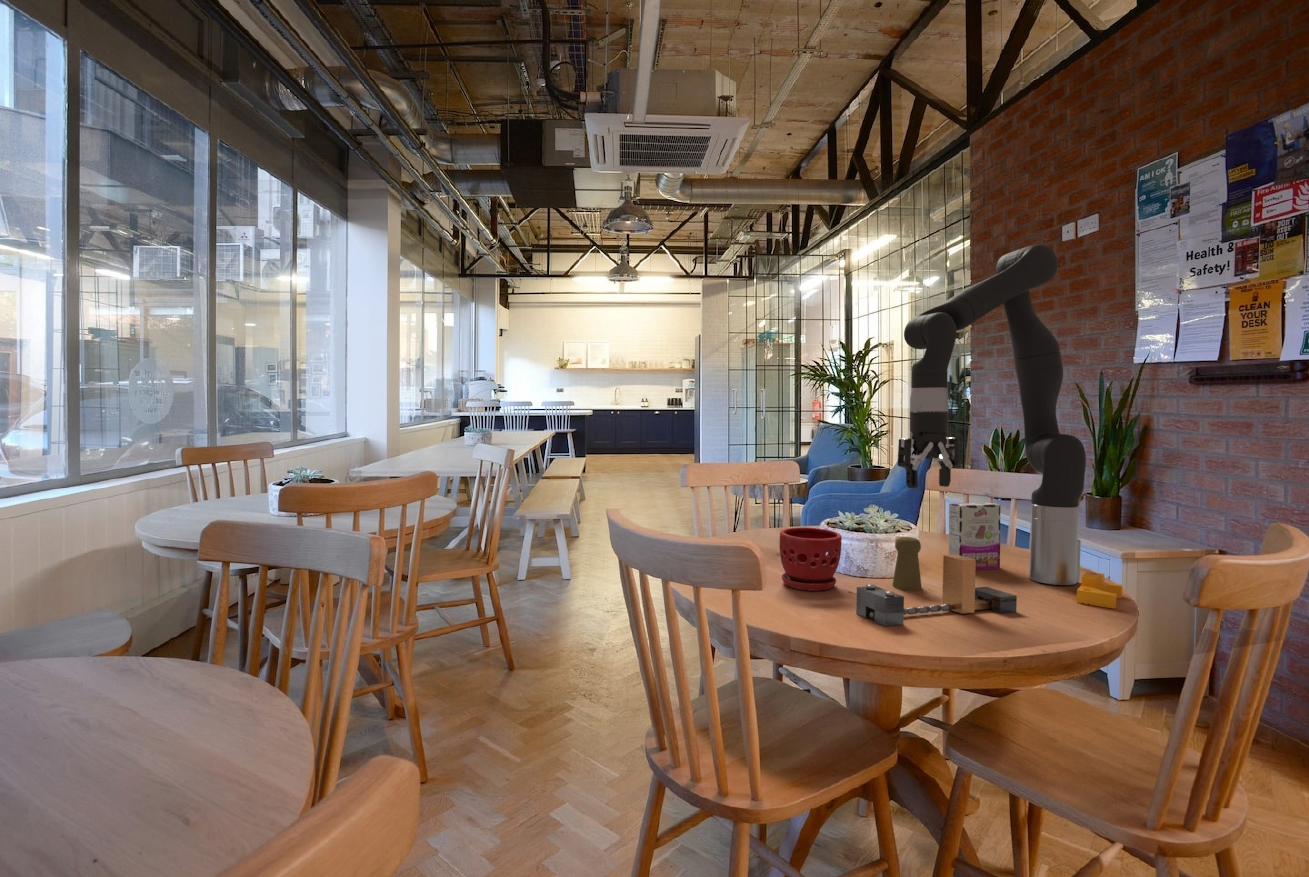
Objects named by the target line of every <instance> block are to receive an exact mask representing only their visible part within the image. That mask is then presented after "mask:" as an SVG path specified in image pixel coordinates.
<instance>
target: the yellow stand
mask: <svg viewBox="0 0 1309 877" xmlns="http://www.w3.org/2000/svg"><path fill="white" fill-rule="evenodd" d="M1122 597H1123V584H1119V583H1113V582H1105V573H1101V572H1092V571H1086V572H1085V573H1084V574H1082V576H1081V584H1080V586H1079V587H1078V588H1077V590H1076V603H1077V602H1079V603H1078V604H1082V603H1084V605H1088V604H1090V606H1094V605H1095V606H1096V607H1101V608H1107V609H1116V608H1117V599H1122ZM1095 606H1094V607H1095Z"/></svg>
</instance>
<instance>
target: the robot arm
mask: <svg viewBox="0 0 1309 877" xmlns="http://www.w3.org/2000/svg"><path fill="white" fill-rule="evenodd" d="M1058 261H1059V260H1058V257H1057V255H1056V253H1055V252H1054V250H1053V249H1052V248H1051V247H1049V246H1047V245H1046V244H1032V245H1028V246H1025V247H1023V248H1020V249H1016V250H1014V251H1011V252H1009V253H1006V254H1003V255H1002V256H1000V258H999V259H998V261H997V263H996V268H995V275H992V276H990V277H988V278H986V279H984V280H981V281H979V282H977V283H975V284H972V285H971V286H969V287H966V289H964V290H961V291H960V292H958V293H957V294H955V295H953V296H951V297H950V298H948V299H947V300H946V301H944V302H943V303H940V304H939V305H937V306H934V307H932V308H930V309H927V310H926V311H924V312H921V313H919V314H917V315H916V316H913V318H912V319H910V320H908V322H907V324H906V325H905V327H904V331H903V336H904V337H903V338H904V341H905V343H906V344H907V345H908V346H909V347H911V348H912V349H916V350H925V351H924V354H923V357H922V358H921V359H919V360H916V361H915V362H914V363H912V366H911V377H910V379H911V382H910V383H911V385H910V386H911V387H910V388H911V390H910V396H909V397H910V398H909V431H910V433H911V438H910V437H900V438H899V439H898V449H897V467H901V468H902V469H903V468H904V469H905V472H906V473H905V477H906V478H905V480H906V481H905V483H906V486H907V488H908V489H917V488H918V478H919V477H918V476H919V474H918V473H919V472H918V467H919V466H920V464H921V463H922V462H924V460H926V459H933V460H934V461H936V463H937V464H938V466H939V469H938V472H939V473H938V485H939V486H940V487H944V488H945V487H946V488H947V487H949V486H950V484H951V483H952V482H951V480H952V479H951V478H952V477H951V475H952V474H951V472H952V471H951V470H952V469H953V468H954V467H955V466H959V464H960V453H959V452H960V451H959V450H960V449H959V438H958V437H952V436H951V437H949V436H947V435H946V433H948V431H949V412H950V411H949V403H950V401H949V400H950V399H949V393H948V368H949V365H950V361H951V358H952V354H953V351H954V349H955V348H954V347H955V344H956V339H957V332H958V331H959V332H960V331H962V330H964V329H966V328H968V327H970V326H971V325H972V324H974V323H975V322H977V321H978V320H980V319H981V318H983V317H984V316H986V315H987V314H989V313H991V312H992V311H993V310H995V309H997V308H999V307H1000V306H1002V305H1003V309H1004V312H1005V315H1006V319H1007V325H1008V326H1007V327H1008V330H1009V331H1008V332H1009V335H1010V340H1011V346H1012V354H1013V362H1014V369H1015V374H1016V378H1017V383H1018V389H1019V395H1020V402H1021V408H1022V409H1021V410H1022V414H1023V428H1024V430H1023V431H1024V448H1025V450H1024V451H1025V456H1026V460H1027V462H1028V464H1029V466H1030V467H1031V468H1032V469H1033V470H1035V471H1036V472H1038V473H1041V474H1042V479H1041V484H1040V485H1039V487H1038V488H1037V489H1034V490H1033V491H1032V493H1031V498H1030V499H1031V500H1030V501H1031V504H1030V505H1031V506H1030V508H1031V509H1030V510H1031V512H1030V537H1029V538H1030V540H1029V541H1030V545H1029V547H1030V548H1029V571H1028V572H1029V574H1028V579H1030V580H1032V581H1033V582H1037V583H1043V584H1047V585H1055V586H1057V585H1058V586H1073V585H1076V584H1077V583H1080V578H1081V577H1080V574H1081V572H1080V571H1081V541H1082V540H1080V539H1079V538H1078V536H1079V509H1080V508H1079V507H1080V506H1079V504H1080V498H1081V497H1082V494H1083V493H1084V486H1085V476H1086V467H1087V466H1086V465H1087V455H1086V449H1085V446H1084V444H1083V442H1082V441H1081V440H1080V439H1079V438H1077V437H1076V436H1074V435H1071V434H1067V433H1060V429H1059V425H1058V418H1057V402H1058V398H1059V395H1060V391H1061V388H1062V385H1063V381H1064V380H1063V378H1064V367H1063V366H1064V365H1063V360H1062V354H1061V353H1062V352H1061V349H1060V344H1059V342H1058V340H1057V339H1056V337H1055V336H1054V334H1053V333H1052V332H1051V330H1050V329H1049V328H1048V327H1047V326H1046V325H1045V324H1044V322H1042V320H1041V319H1040V318H1039V316H1038V315H1037V314H1036V312H1035V310H1034V307H1033V303H1032V299H1031V294H1030V290H1031V289H1035V288H1040V287H1041V286H1044V285H1046V284H1048V283H1049V282H1050V281H1052V280H1053V278H1054V277H1055V275H1056V273H1057V271H1058V267H1059V266H1058V265H1059V264H1058V263H1059V262H1058Z"/></svg>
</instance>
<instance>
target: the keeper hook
mask: <svg viewBox="0 0 1309 877" xmlns="http://www.w3.org/2000/svg"><path fill="white" fill-rule="evenodd" d="M987 598H988V599H991V600H992V608H991V611H992V612H994V613H997V614H1009V613H1010V614H1011V613H1016V612H1017V602H1018V601H1017V600H1018V595H1015V594H1013V593H1009V592H1006V591H1002V590H1000V589H995V588H992V587H988V586H980V587H975V600H977V599H987Z"/></svg>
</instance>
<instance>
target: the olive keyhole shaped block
mask: <svg viewBox="0 0 1309 877" xmlns="http://www.w3.org/2000/svg"><path fill="white" fill-rule="evenodd" d="M894 547H895V550H896V552H897V555H896V561H895V568H894V574H893V579H892V587H893V588H895V589H897V590H901V591H909V592H917V591H921V590H922V589H923V588H922V587H923V586H922V580H921V579H922V578H921V570H920V562H919V553H920V551H921V548H922V545H921V541H920V540H919V539H918V538H915V537H911V536H901V537H898V538H897V539H896V540H895V544H894Z"/></svg>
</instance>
